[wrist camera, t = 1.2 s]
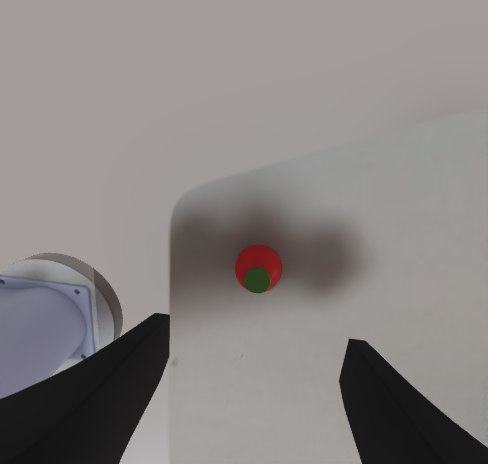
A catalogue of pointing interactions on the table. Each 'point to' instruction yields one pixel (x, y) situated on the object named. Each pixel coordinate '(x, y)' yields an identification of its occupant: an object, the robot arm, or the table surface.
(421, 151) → the table surface
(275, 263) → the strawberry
